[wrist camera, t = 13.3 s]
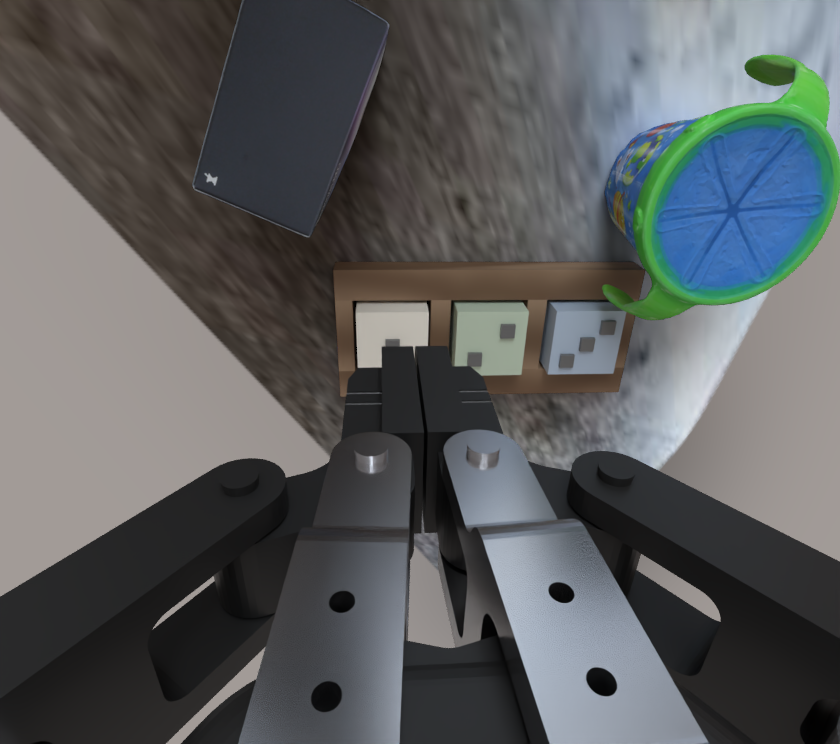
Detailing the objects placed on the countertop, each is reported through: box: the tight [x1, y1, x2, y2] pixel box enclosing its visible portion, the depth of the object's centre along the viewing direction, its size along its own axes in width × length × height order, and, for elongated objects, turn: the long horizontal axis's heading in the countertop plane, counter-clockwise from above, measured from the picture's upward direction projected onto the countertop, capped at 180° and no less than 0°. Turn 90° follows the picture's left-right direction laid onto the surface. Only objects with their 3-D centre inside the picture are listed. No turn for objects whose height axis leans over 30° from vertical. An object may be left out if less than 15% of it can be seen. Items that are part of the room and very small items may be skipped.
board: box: [333, 262, 645, 397], centre depth 41 cm, size 10×22×2 cm, turn 89°
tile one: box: [356, 300, 429, 368], centre depth 39 cm, size 5×5×4 cm
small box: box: [192, 0, 389, 237], centre depth 29 cm, size 11×6×10 cm, turn 155°
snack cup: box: [602, 55, 840, 320], centre depth 33 cm, size 16×10×10 cm
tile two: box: [449, 300, 529, 376], centre depth 40 cm, size 5×5×4 cm
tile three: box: [539, 299, 626, 375], centre depth 40 cm, size 5×5×4 cm
